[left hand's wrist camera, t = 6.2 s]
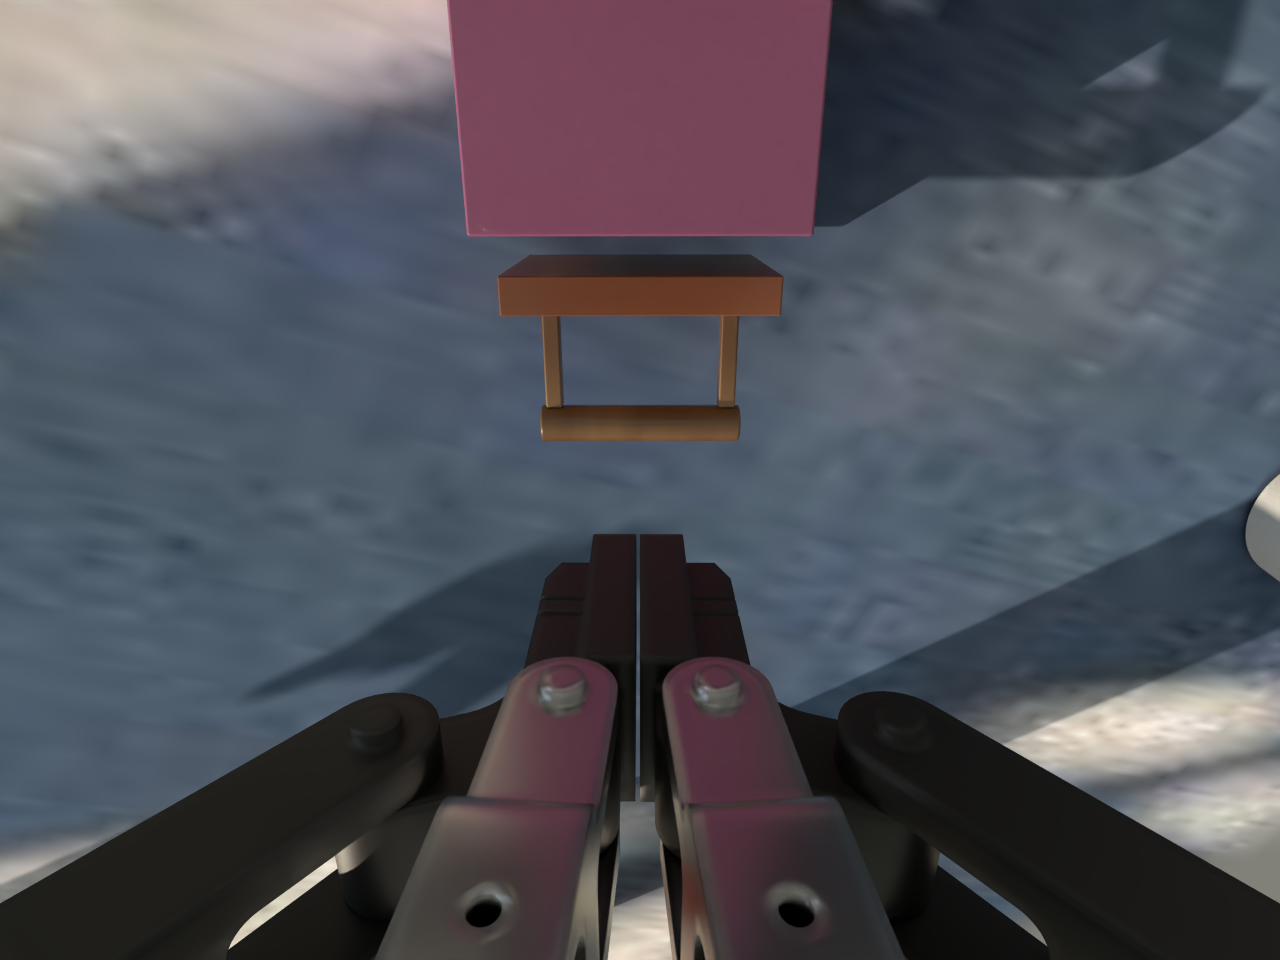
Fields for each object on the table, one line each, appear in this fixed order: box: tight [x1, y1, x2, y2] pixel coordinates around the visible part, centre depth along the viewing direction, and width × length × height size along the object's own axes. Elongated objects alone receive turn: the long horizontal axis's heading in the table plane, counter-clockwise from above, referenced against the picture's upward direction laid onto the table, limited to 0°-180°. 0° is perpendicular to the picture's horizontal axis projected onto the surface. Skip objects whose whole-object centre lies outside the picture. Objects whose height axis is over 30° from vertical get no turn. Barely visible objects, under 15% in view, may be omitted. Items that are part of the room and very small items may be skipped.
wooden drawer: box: [497, 255, 783, 441], centre depth 23 cm, size 25×9×7 cm, turn 0°
